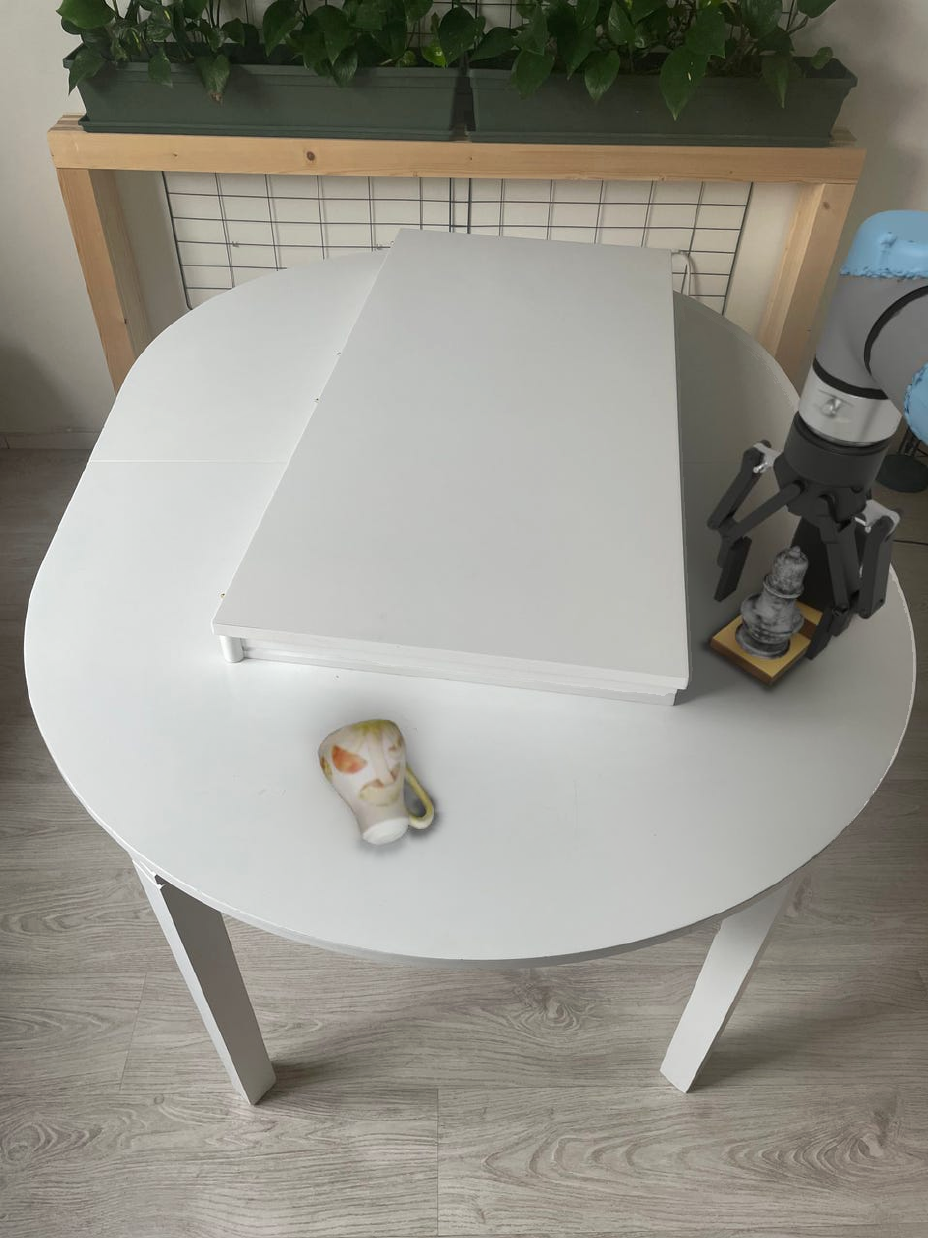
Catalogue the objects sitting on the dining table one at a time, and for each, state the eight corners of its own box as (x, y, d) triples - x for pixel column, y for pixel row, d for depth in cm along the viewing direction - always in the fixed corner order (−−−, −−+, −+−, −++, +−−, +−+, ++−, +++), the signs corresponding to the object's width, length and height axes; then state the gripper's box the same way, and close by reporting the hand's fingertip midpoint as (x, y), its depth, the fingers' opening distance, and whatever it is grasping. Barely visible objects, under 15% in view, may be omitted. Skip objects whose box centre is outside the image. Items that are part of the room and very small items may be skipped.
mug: (353, 876, 73) (306, 772, 69) (349, 811, 82) (307, 716, 78) (443, 842, 73) (400, 736, 69) (428, 782, 82) (390, 685, 78)
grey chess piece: (782, 670, 87) (821, 577, 79) (723, 645, 89) (754, 552, 81) (801, 633, 91) (840, 539, 82) (743, 609, 93) (776, 516, 84)
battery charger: (851, 601, 94) (891, 513, 86) (836, 622, 92) (875, 533, 84) (788, 571, 97) (821, 483, 89) (771, 590, 95) (804, 501, 87)
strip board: (856, 607, 95) (860, 598, 94) (769, 686, 87) (772, 677, 86) (797, 572, 99) (801, 563, 98) (708, 646, 91) (711, 637, 90)
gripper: (700, 381, 76) (653, 580, 92) (956, 508, 65) (852, 709, 81) (752, 351, 80) (698, 547, 96) (1003, 466, 69) (894, 666, 85)
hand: (768, 621), depth 88 cm, fingers open, 9 cm apart
